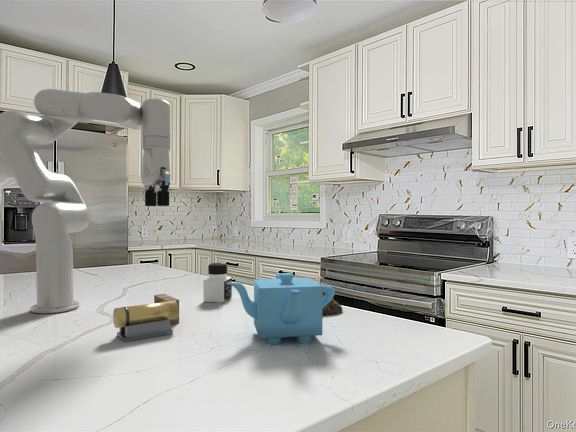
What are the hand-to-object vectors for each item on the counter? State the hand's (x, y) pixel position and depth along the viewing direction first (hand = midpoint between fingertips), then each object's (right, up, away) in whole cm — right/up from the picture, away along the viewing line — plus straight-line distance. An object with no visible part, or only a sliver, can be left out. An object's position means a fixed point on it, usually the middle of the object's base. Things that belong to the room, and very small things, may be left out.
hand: (156, 206), depth 121 cm
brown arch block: (+4, -30, -6) cm, 31 cm away
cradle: (+3, -31, -20) cm, 37 cm away
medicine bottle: (+14, -30, +18) cm, 38 cm away
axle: (+3, -28, -19) cm, 34 cm away
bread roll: (+46, -31, +4) cm, 56 cm away
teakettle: (+35, -31, -22) cm, 52 cm away
